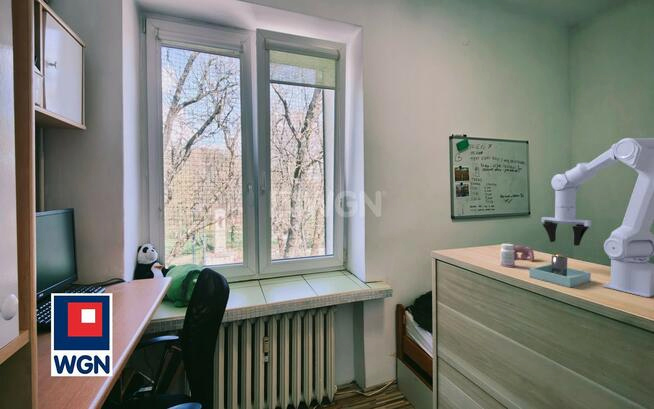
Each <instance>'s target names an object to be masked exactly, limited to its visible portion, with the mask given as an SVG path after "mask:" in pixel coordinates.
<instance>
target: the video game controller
mask: <svg viewBox="0 0 654 409" xmlns="http://www.w3.org/2000/svg"><path fill="white" fill-rule="evenodd" d="M513 250H514V251H515V259H518V258H519V254H518V253H521V255H520V258H521V259H522V260H524V259H525V260H527V259H528V258H529V260H530V261H531V263H532V262H534V260H535V254H534V251H533V249H532V248H530V247H529V246H526V245H525V246H524V245H518V244H516V245H514V249H513Z"/></svg>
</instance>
